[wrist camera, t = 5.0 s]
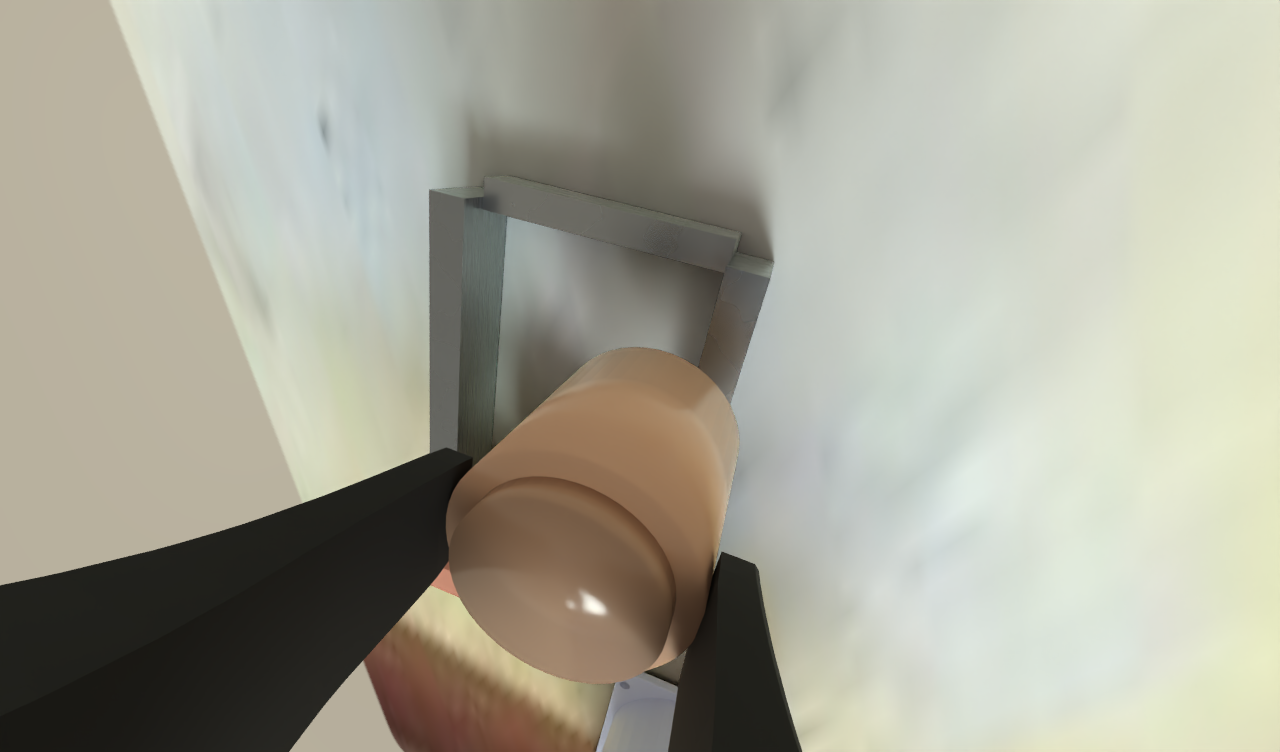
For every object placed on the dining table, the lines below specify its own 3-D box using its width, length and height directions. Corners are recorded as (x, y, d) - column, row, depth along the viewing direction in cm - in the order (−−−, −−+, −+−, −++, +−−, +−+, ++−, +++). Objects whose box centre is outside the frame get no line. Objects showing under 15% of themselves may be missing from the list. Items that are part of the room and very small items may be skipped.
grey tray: (663, 610, 22) (648, 659, 20) (463, 530, 24) (430, 567, 22) (780, 242, 15) (777, 255, 13) (478, 167, 17) (429, 168, 14)
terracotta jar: (716, 533, 14) (670, 741, 9) (554, 482, 15) (431, 642, 10) (761, 374, 11) (730, 532, 7) (566, 327, 13) (415, 432, 8)
